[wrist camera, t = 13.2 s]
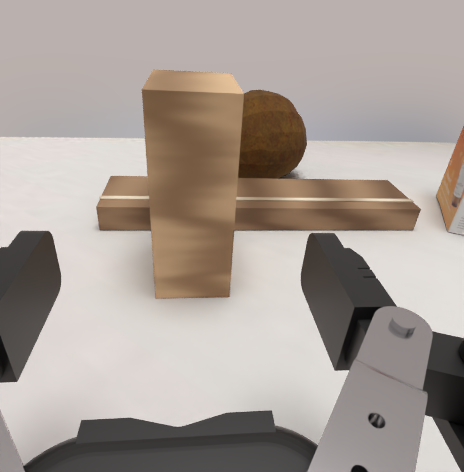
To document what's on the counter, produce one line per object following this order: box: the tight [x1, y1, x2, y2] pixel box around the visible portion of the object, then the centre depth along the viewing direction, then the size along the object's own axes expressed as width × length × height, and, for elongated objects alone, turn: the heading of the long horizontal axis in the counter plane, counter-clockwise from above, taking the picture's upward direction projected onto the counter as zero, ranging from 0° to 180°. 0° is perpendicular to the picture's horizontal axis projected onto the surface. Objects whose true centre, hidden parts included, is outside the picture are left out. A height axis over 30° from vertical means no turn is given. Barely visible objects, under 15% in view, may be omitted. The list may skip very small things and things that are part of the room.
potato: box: [238, 90, 307, 179], centre depth 38 cm, size 8×12×9 cm
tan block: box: [142, 70, 244, 299], centre depth 25 cm, size 4×12×12 cm, turn 6°
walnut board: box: [96, 176, 421, 230], centre depth 32 cm, size 26×6×2 cm, turn 96°
